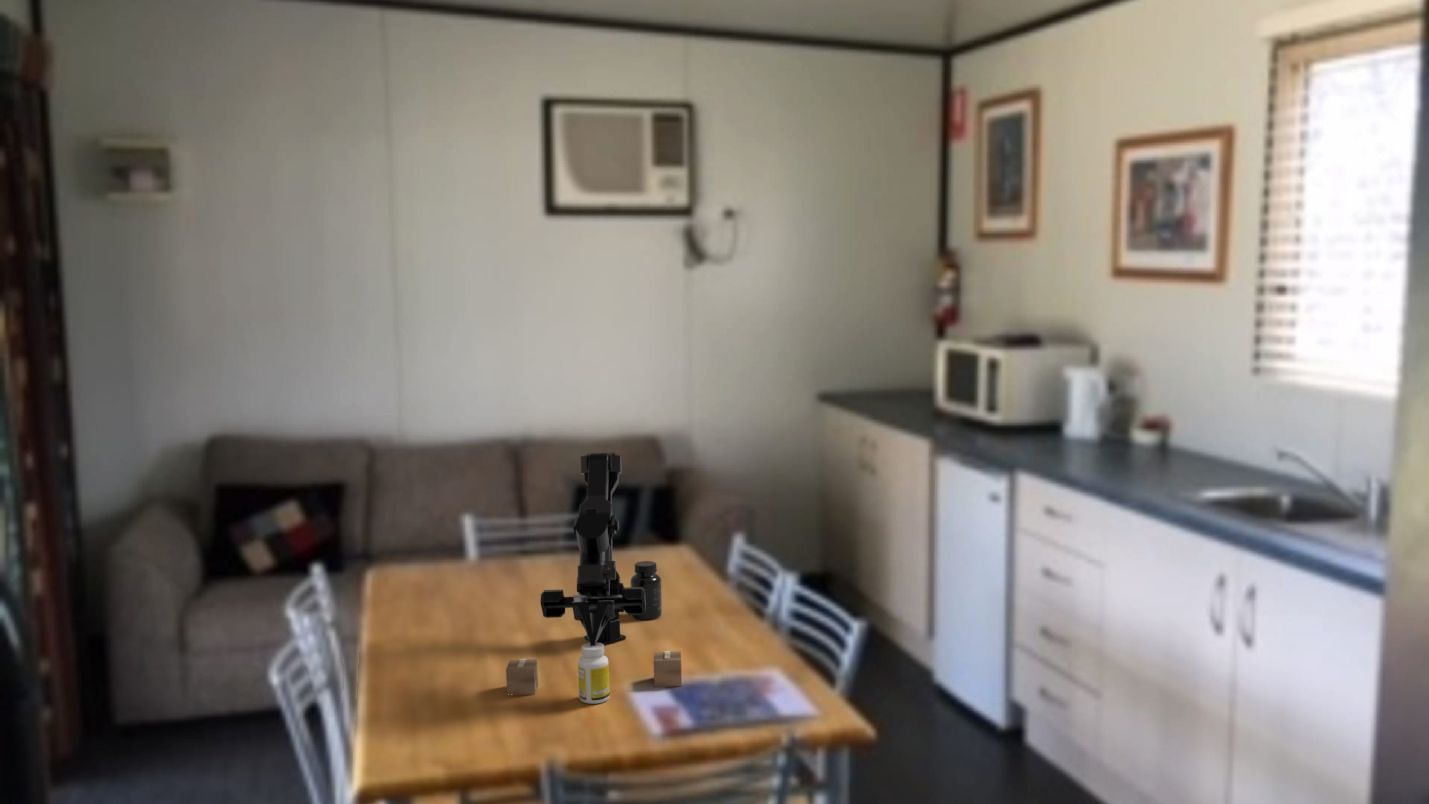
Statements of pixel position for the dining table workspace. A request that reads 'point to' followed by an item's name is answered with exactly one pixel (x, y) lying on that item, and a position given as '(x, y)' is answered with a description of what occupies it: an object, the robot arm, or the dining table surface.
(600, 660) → the supplement bottle
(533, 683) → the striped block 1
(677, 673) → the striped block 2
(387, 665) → the dining table surface
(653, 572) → the supplement bottle
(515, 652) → the dining table surface
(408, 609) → the dining table surface
